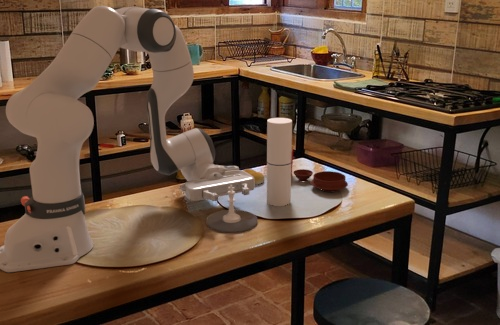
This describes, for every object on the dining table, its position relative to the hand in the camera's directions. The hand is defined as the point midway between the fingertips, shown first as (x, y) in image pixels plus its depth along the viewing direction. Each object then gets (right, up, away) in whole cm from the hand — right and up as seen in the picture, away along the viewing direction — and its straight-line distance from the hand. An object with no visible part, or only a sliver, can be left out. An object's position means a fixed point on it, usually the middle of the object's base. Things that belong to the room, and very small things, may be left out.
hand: (231, 195), depth 153 cm
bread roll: (+5, +2, +35) cm, 35 cm away
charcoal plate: (0, -7, +2) cm, 8 cm away
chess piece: (0, -7, +2) cm, 7 cm away
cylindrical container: (+14, -3, +17) cm, 22 cm away
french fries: (+17, +5, +42) cm, 45 cm away
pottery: (+27, +1, +30) cm, 41 cm away
